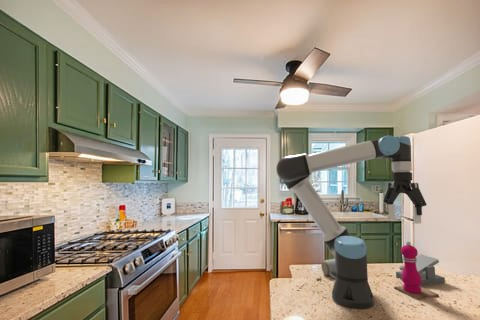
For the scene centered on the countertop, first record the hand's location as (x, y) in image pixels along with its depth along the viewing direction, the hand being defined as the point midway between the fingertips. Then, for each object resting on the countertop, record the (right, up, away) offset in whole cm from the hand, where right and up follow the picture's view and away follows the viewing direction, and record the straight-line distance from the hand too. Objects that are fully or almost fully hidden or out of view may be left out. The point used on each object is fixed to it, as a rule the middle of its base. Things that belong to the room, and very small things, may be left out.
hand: (404, 221), depth 114 cm
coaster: (+2, -29, -4) cm, 29 cm away
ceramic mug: (-24, -31, +17) cm, 43 cm away
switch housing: (+14, -30, +10) cm, 34 cm away
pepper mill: (+1, -28, -4) cm, 28 cm away
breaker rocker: (+14, -25, +11) cm, 30 cm away
